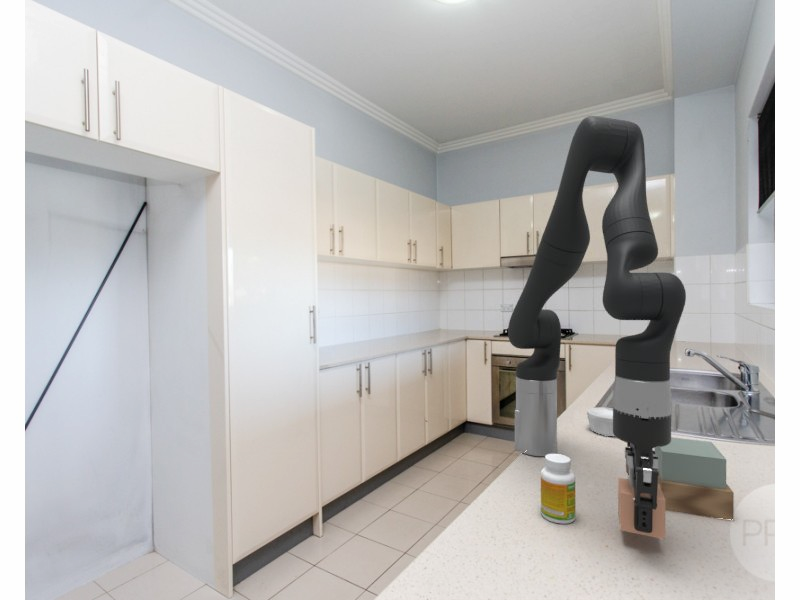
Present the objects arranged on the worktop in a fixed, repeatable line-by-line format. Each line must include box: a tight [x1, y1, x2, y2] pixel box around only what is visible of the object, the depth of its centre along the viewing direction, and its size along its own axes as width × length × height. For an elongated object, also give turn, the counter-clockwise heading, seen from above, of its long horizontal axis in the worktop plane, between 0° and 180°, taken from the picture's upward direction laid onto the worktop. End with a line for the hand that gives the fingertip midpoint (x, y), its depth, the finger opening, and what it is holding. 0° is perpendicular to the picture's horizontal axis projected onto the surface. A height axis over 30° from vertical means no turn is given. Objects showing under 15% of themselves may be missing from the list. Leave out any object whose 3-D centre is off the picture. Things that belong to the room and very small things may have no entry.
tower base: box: [657, 469, 735, 520], centre depth 75 cm, size 10×10×5 cm
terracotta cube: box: [617, 477, 666, 540], centre depth 63 cm, size 6×6×6 cm
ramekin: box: [586, 406, 615, 437], centre depth 113 cm, size 11×11×5 cm
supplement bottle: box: [540, 453, 576, 525], centre depth 70 cm, size 5×5×10 cm
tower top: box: [653, 436, 727, 490], centre depth 75 cm, size 9×9×5 cm
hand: (640, 519), depth 63 cm, fingers closed on terracotta cube, 5 cm apart
